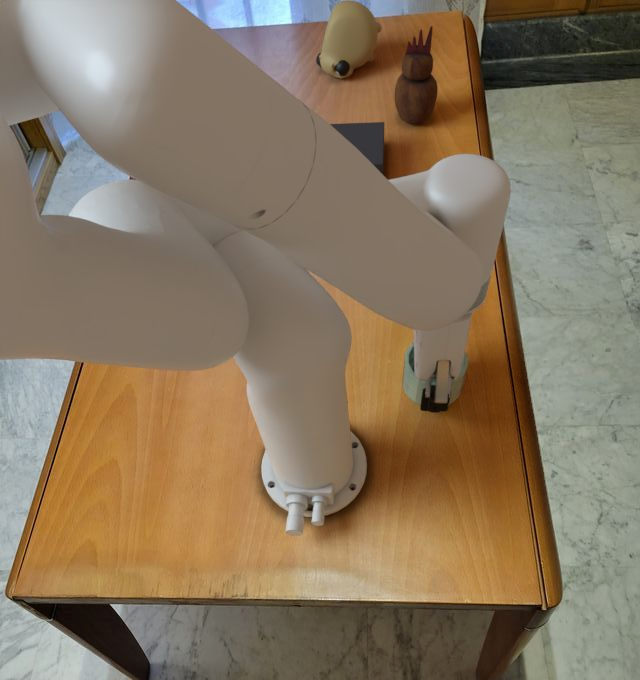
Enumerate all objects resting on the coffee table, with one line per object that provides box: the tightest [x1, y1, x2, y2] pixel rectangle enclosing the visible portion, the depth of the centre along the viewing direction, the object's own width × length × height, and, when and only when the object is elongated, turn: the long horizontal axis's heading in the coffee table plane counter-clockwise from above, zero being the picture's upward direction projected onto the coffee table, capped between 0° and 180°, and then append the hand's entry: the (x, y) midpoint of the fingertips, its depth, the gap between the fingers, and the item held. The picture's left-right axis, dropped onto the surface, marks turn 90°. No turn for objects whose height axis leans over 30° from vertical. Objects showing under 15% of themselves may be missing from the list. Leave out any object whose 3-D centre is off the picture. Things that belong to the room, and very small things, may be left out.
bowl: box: [402, 341, 469, 406], centre depth 77 cm, size 7×7×6 cm
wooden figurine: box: [394, 26, 439, 126], centre depth 101 cm, size 7×6×15 cm
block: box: [329, 121, 385, 175], centre depth 100 cm, size 10×10×4 cm
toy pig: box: [315, 0, 383, 79], centre depth 112 cm, size 10×12×11 cm
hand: (433, 381), depth 78 cm, fingers closed on bowl, 7 cm apart
